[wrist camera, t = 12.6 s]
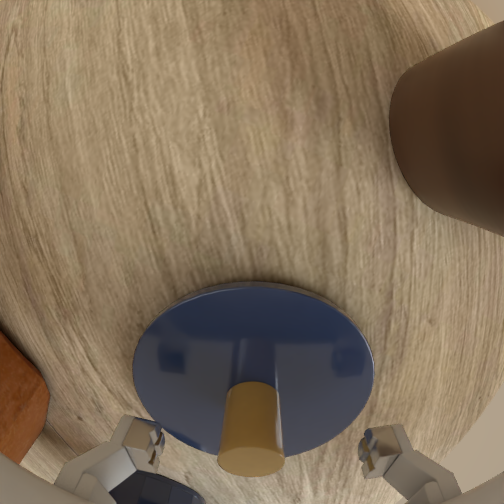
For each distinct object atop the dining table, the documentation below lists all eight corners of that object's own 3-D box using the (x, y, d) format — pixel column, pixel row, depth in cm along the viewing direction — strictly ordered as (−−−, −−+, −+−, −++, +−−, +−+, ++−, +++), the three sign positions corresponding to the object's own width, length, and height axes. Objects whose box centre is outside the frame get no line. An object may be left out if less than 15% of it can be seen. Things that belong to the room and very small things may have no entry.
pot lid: (391, 279, 11) (451, 339, 6) (338, 442, 14) (352, 503, 10) (126, 265, 11) (62, 320, 7) (158, 434, 14) (138, 494, 10)
